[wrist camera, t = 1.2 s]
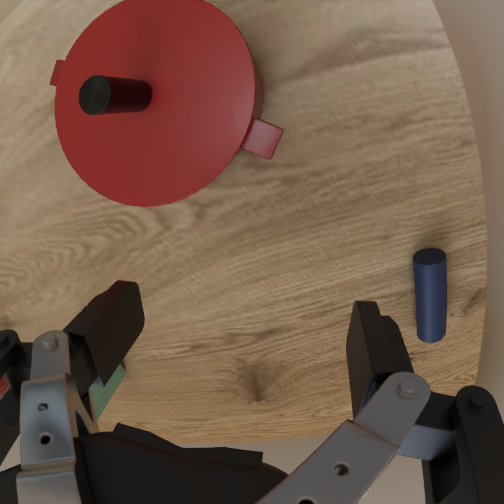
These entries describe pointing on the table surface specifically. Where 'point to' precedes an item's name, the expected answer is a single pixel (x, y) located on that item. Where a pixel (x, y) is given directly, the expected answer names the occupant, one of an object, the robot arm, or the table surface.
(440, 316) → the tube
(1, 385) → the planter
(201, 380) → the table surface
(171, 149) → the pot lid
